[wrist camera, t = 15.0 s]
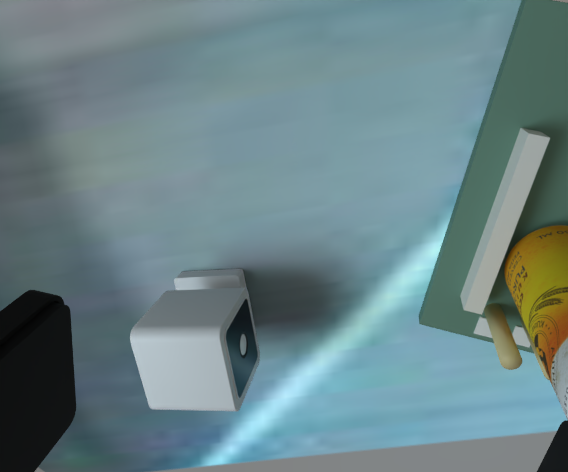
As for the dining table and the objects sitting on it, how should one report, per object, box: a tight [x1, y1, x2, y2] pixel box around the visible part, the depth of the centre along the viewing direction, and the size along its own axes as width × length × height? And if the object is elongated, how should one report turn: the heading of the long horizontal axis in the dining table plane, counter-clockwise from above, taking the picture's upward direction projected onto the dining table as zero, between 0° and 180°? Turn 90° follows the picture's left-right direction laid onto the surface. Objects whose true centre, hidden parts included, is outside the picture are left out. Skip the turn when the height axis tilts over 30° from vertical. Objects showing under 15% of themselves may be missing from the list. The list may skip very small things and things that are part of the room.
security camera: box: [130, 269, 260, 411], centre depth 36 cm, size 6×7×10 cm
